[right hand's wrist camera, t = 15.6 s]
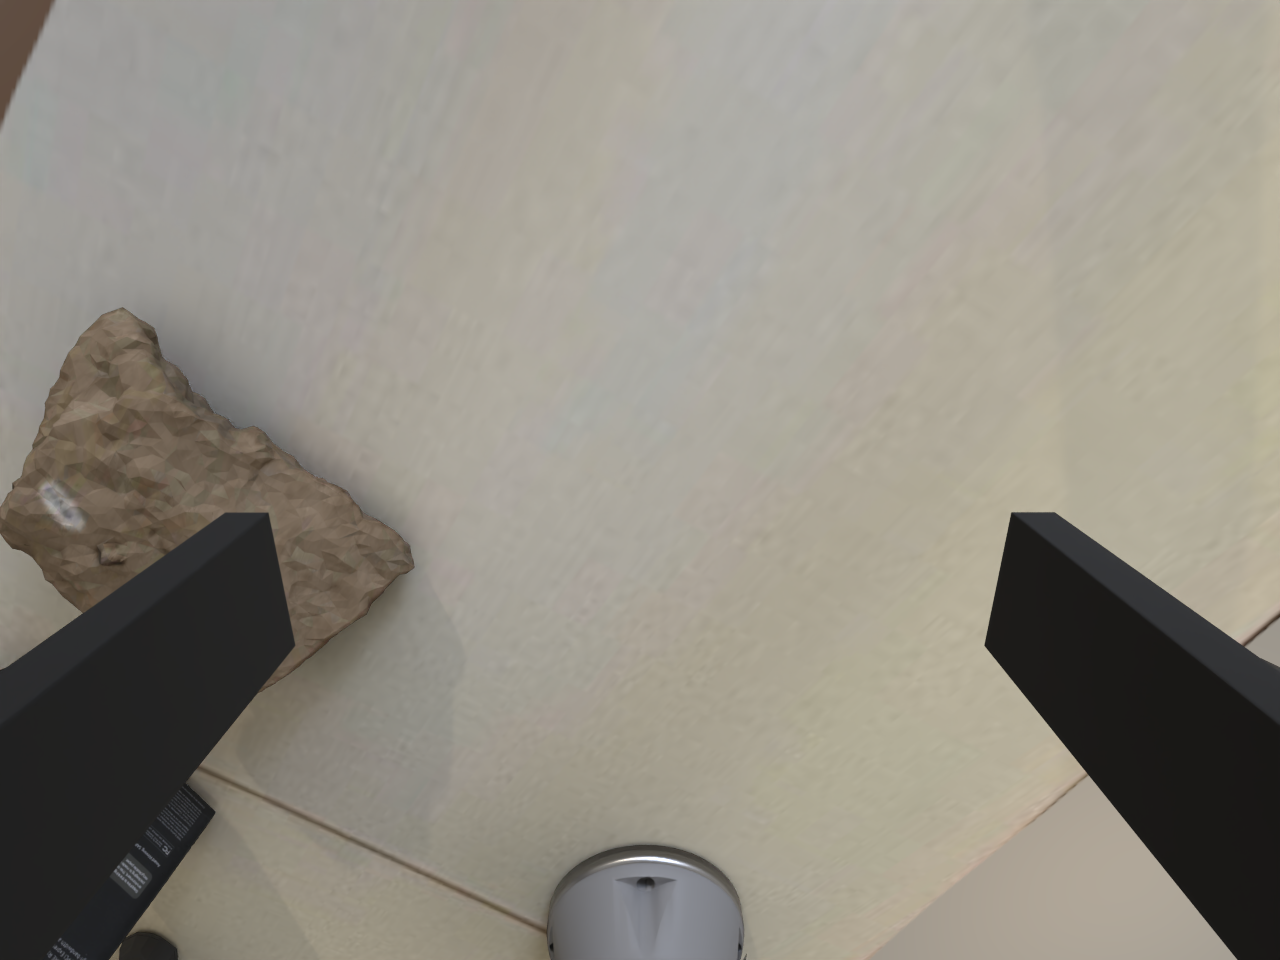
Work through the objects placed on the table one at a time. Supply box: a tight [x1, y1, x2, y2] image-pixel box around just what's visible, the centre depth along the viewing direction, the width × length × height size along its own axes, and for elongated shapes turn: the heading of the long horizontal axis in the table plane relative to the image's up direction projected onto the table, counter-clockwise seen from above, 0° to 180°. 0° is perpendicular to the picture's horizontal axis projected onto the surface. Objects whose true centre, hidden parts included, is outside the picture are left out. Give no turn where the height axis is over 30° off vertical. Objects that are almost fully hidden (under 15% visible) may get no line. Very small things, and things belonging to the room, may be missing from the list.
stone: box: [0, 307, 414, 693], centre depth 41 cm, size 21×15×6 cm
